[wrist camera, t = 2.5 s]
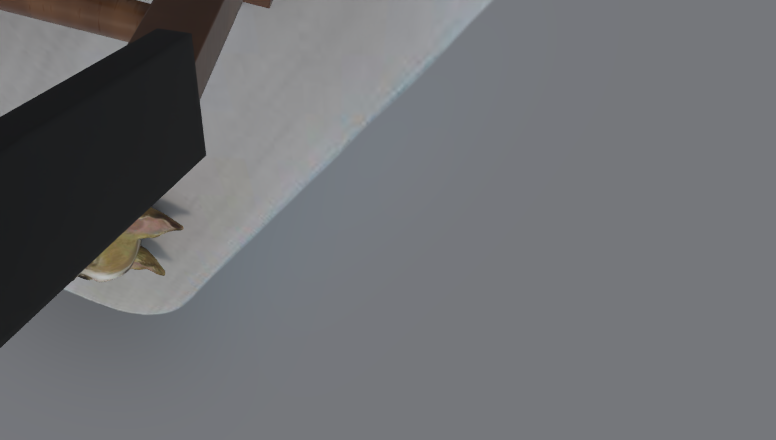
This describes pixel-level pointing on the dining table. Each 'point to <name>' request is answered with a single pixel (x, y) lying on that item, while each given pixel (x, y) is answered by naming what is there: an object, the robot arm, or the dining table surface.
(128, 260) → the ceramic sculpture
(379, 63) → the dining table surface
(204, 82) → the stand
